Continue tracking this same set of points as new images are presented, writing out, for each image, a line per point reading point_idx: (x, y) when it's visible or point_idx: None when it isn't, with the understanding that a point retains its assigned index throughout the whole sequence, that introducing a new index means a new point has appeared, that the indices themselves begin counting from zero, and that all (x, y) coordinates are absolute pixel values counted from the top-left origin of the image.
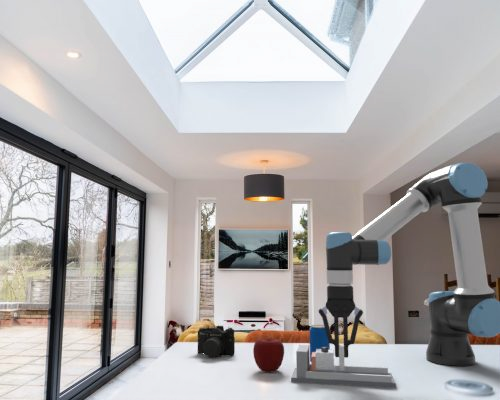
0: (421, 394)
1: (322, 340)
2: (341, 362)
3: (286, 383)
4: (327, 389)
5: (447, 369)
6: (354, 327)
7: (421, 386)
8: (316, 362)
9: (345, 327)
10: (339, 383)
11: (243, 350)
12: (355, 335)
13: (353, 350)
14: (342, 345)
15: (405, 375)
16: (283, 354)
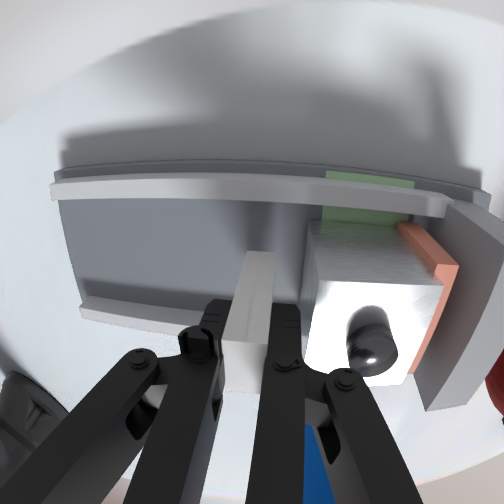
0: (15, 123)
1: (324, 478)
2: (259, 272)
3: (495, 170)
4: (343, 80)
5: (22, 358)
6: (64, 459)
7: (17, 211)
8: (416, 254)
9: (154, 491)
10: (282, 162)
11: (470, 447)
12: (89, 396)
13: (225, 481)
14: (235, 371)
15: (66, 320)
16: (501, 358)
